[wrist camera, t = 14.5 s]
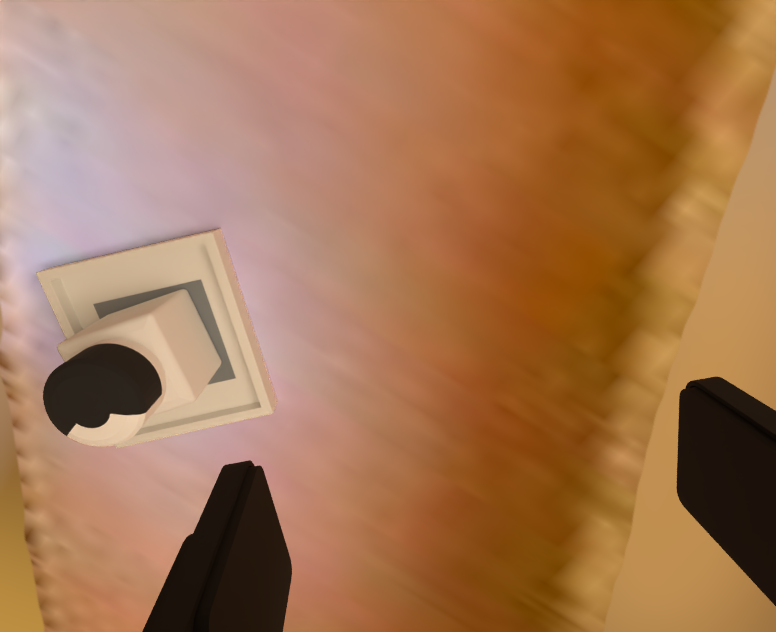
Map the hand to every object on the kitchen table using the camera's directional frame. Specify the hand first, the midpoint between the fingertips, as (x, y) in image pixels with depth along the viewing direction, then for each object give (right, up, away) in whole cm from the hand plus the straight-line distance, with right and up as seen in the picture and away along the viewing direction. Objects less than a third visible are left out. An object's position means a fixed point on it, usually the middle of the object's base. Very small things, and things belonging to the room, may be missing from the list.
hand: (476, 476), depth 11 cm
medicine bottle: (-21, +2, +30) cm, 36 cm away
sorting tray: (-21, +2, +31) cm, 37 cm away
